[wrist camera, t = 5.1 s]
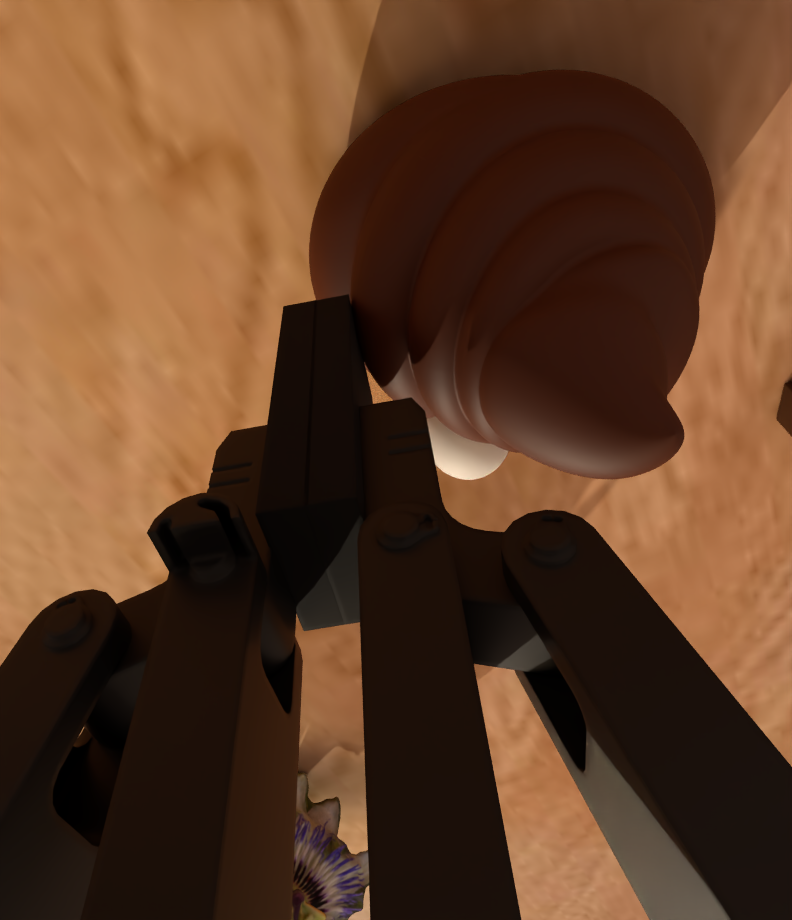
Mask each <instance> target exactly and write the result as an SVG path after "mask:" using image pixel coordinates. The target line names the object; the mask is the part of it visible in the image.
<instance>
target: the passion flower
mask: <svg viewBox="0 0 792 920" xmlns="http://www.w3.org/2000/svg"><path fill="white" fill-rule="evenodd" d="M308 789H309V787H308V779H307V775H306V773H298V780H297V803H296V826H295V849H294V872H293V895H292V918H291V920H348V919H349V917H350V916H351V915H352V914H354V913H355V912H359V911H361V910H362V909H363V899H364V893H365V889H366V887H367V886H369V863H368V850H367V851H363V852H359V853H358V854H356V855H355V854H351V853H350V852H349V850H348V848H347V845H346V844H345V843H344V842H343V841H342V840H340V839H339V838H338V837H337V834H338V828H339V822H340V801H339V799H338V797H335V798H333V799H326V800H324V801H322V802H319V803H313V802H311V801H310V799H309V798H308V796H307V795H308Z"/></svg>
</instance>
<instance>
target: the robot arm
mask: <svg viewBox="0 0 792 920" xmlns="http://www.w3.org/2000/svg"><path fill="white" fill-rule="evenodd" d="M212 470H213V473H211V477H210V482H209V489H208V490H207V493H200V494H196V495H193V496H190V497H186V498H183V499H181V500H180V501H178V502H176V503H174V504H173V505H171V506H169V507H167V508H166V509H165V510H164V511H163V512H162V513H161V514H160V515H159V516H158V517H157V518H155V519H154V521H153V523H152V525H151V526H150V528H149V530H148V532H147V534H148V535H149V537H150V539H151V541H152V542H153V544H154V546H155V548H156V549H157V551H158V553H159V555H160V556H161V558H162V560H163V562H164V563H165V565H166V567H167V569H168V570H169V575H168V579H167V581H165V582H164V583H162V584H160V585H158V586H156V587H154V588H153V589H151V590H148V591H146V592H144V593H141V594H139V595H137V596H134V597H132V598H130V599H127V600H125V601H122V602H120V603H118V604H116V603H115V601H114V600H113V599H112V598H111V597H110V596H109V595H108V594H107V593H106V592H102V591H98V590H94V589H91V590H84V591H77V592H74V593H72V594H69V595H67V596H64V597H62V598H60V599H58V600H56V601H55V602H53V603H52V604H51V605H49V606H48V607H46V608H45V609H44V610H42V611H41V612H40V613H39V614H38V616H37V617H36V618H35V619H34V620H33V621H32V622H31V623H30V624H29V626H28V627H27V629H26V630H25V631H24V633H23V634H22V636H21V637H20V639H19V640H18V642H17V643H16V645H15V646H14V647H13V649H12V650H11V652H10V653H9V655H8V656H7V658H6V659H5V660H4V662H3V663H2V665H1V666H0V920H291V918H292V895H293V872H294V849H295V826H296V803H297V780H298V757H299V734H300V711H301V688H302V665H303V660H302V655H301V649H300V647H299V644H298V642H297V640H296V637H295V626H296V613H297V616H298V618H299V620H300V623H301V625H302V628H303V630H304V631H308V630H314V629H320V628H326V627H332V626H338V625H344V624H351V623H357V622H360V633H361V662H362V690H363V719H364V748H365V777H366V805H367V834H368V863H369V892H370V920H521V915H520V910H519V905H518V899H517V894H516V889H515V883H514V878H513V873H512V867H511V862H510V857H509V851H508V846H507V840H506V835H505V830H504V824H503V819H502V814H501V808H500V803H499V798H498V792H497V787H496V782H495V776H494V771H493V765H492V760H491V755H490V749H489V744H488V739H487V733H486V728H485V723H484V717H483V712H482V707H481V701H480V696H479V690H478V685H477V680H476V674H475V669H474V664H479V665H486V666H493V667H499V668H506V669H513V670H515V673H516V675H517V676H518V678H519V680H520V682H521V684H522V686H523V687H524V689H525V691H526V693H527V695H528V697H529V699H530V700H531V702H532V704H533V706H534V708H535V710H536V711H537V713H538V715H539V717H540V719H541V721H542V722H543V724H544V726H545V728H546V730H547V732H548V733H549V735H550V737H551V739H552V741H553V743H554V745H555V746H556V748H557V750H558V752H559V754H560V756H561V757H562V759H563V761H564V763H565V765H566V767H567V768H568V770H569V772H570V774H571V776H572V778H573V779H574V781H575V783H576V785H577V787H578V789H579V790H580V792H581V794H582V796H583V798H584V800H585V802H586V803H587V805H588V807H589V809H590V811H591V813H592V814H593V816H594V818H595V820H596V822H597V824H598V825H599V827H600V829H601V831H602V833H603V835H604V836H605V838H606V840H607V842H608V844H609V846H610V848H611V849H612V851H613V853H614V855H615V857H616V859H617V860H618V862H619V864H620V866H621V868H622V870H623V871H624V873H625V875H626V877H627V879H628V881H629V882H630V884H631V886H632V888H633V890H634V892H635V894H636V895H637V897H638V899H639V901H640V903H641V905H642V906H643V908H644V910H645V912H646V914H647V916H648V917H649V919H650V920H792V767H791V765H790V764H789V763H788V762H787V761H786V759H785V758H784V757H783V756H782V754H781V753H780V752H779V751H778V750H777V748H776V747H775V746H774V745H773V744H772V742H771V741H770V740H769V739H768V738H767V736H766V735H765V734H764V733H763V731H762V730H761V729H760V728H759V727H758V725H757V724H756V723H755V722H754V721H753V719H752V718H751V717H750V716H749V715H748V713H747V712H746V711H745V710H744V708H743V707H742V706H741V705H740V704H739V702H738V701H737V700H736V699H735V698H734V696H733V695H732V694H731V693H730V692H729V690H728V689H727V688H726V687H725V685H724V684H723V683H722V682H721V681H720V679H719V678H718V677H717V676H716V675H715V673H714V672H713V671H712V670H711V669H710V667H709V666H708V665H707V664H706V662H705V661H704V660H703V659H702V658H701V656H700V655H699V654H698V653H697V652H696V650H695V649H694V648H693V647H692V646H691V644H690V643H689V642H688V641H687V639H686V638H685V637H684V636H683V635H682V633H681V632H680V631H679V630H678V629H677V627H676V626H675V625H674V624H673V623H672V621H671V620H670V619H669V618H668V616H667V615H666V614H665V613H664V612H663V610H662V609H661V608H660V607H659V606H658V604H657V603H656V602H655V601H654V600H653V598H652V597H651V596H650V595H649V593H648V592H647V591H646V590H645V589H644V587H643V586H642V585H641V584H640V583H639V581H638V580H637V579H636V578H635V577H634V575H633V574H632V573H631V572H630V570H629V569H628V568H627V567H626V566H625V564H624V563H623V562H622V561H621V560H620V558H619V557H618V556H617V555H616V554H615V552H614V551H613V550H612V549H611V547H610V546H609V545H608V544H607V543H606V541H605V540H604V539H603V538H602V537H601V535H600V534H599V533H598V532H597V531H596V529H595V528H594V527H593V526H591V525H590V524H589V523H588V522H586V521H585V520H584V519H583V518H581V517H579V516H576V515H573V514H571V513H568V512H565V511H555V510H543V511H538V512H533V513H528V514H526V515H524V516H522V517H521V518H519V519H517V520H515V521H513V522H512V524H511V525H510V526H509V527H508V528H507V530H506V531H505V532H493V531H484V530H479V529H473V528H471V527H468V526H465V525H463V524H461V523H459V522H458V521H456V520H455V519H454V518H452V517H451V516H450V514H449V513H448V512H447V511H446V510H445V507H444V505H443V502H442V498H441V493H440V487H439V482H438V476H437V471H436V466H435V460H434V455H433V450H432V445H431V439H430V434H429V428H428V423H427V418H426V412H425V410H424V409H423V408H422V407H421V406H420V405H419V404H418V403H417V402H416V401H415V400H414V399H413V398H412V397H410V398H404V399H399V400H393V401H388V402H382V403H377V404H373V401H372V395H371V390H370V386H369V381H368V377H367V373H366V368H365V364H364V360H363V357H362V354H361V350H360V346H359V342H358V338H357V333H356V329H355V324H354V318H353V313H352V307H351V302H350V298H349V294H347V295H342V296H336V297H331V298H326V299H320V300H315V301H309V302H304V303H299V304H293V305H288V306H284V307H283V314H282V321H281V329H280V336H279V343H278V351H277V358H276V365H275V373H274V380H273V387H272V395H271V402H270V409H269V417H268V424H267V425H264V426H258V427H253V428H247V429H242V430H236V431H231V432H230V433H229V435H228V436H227V437H226V439H225V440H224V441H223V442H222V444H221V445H220V446H219V448H218V449H217V451H216V455H215V459H214V464H213V468H212ZM83 727H84V729H83ZM82 729H83V731H82ZM81 731H82V733H81ZM80 733H81V734H80ZM79 734H80V736H79ZM78 736H79V737H78Z"/></svg>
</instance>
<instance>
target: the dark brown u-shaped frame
mask: <svg viewBox="0 0 792 920" xmlns="http://www.w3.org/2000/svg"><path fill="white" fill-rule="evenodd" d="M777 421H778V422H779V423H780V424H781V425H782V426H783V427H784V429H785V430H786V431H787V432H788V433H789V434H790V435H791V436H792V382H788V383H785V385H784V389H783V393H782V397H781V402H780V406H779V410H778V414H777Z"/></svg>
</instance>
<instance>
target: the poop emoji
mask: <svg viewBox="0 0 792 920" xmlns="http://www.w3.org/2000/svg"><path fill="white" fill-rule="evenodd" d="M714 233H715V200H714V193H713V187H712V183H711V179H710V176H709V172H708V169H707V167H706V164H705V161H704V159H703V157H702V155H701V153H700V151H699V149H698V147H697V145H696V143H695V142H694V140H693V138H692V137H691V135H690V134H689V132H688V131H687V130H686V128H685V127H684V126H683V125H682V123H681V122H680V121H679V120H678V119H677V118H676V117H675V116H674V115H673V114H672V113H671V112H670V111H669V110H668V109H667V108H666V107H665V106H664V105H662V104H661V103H660V102H659V101H657V100H656V99H654V98H653V97H652V96H650V95H649V94H647V93H645V92H644V91H642V90H640V89H638V88H636V87H634V86H632V85H630V84H628V83H626V82H623V81H621V80H618V79H615V78H612V77H609V76H605V75H601V74H597V73H592V72H586V71H576V70H547V71H538V72H531V73H526V74H521V75H495V76H484V77H477V78H471V79H466V80H461V81H457V82H453V83H449V84H446V85H443V86H440V87H437V88H434V89H431V90H429V91H426V92H424V93H422V94H419V95H417V96H415V97H413V98H411V99H409V100H407V101H405V102H404V103H402V104H400V105H398V106H397V107H395V108H394V109H392V110H390V111H389V112H388V113H386V114H385V115H383V116H382V117H381V118H379V119H378V120H377V121H376V122H374V123H373V124H372V125H371V126H370V127H368V128H367V129H366V130H365V131H364V132H363V133H362V134H361V135H360V136H359V137H358V138H357V139H356V140H355V141H354V142H353V143H352V145H351V146H350V147H349V148H348V149H347V151H346V152H345V153H344V155H343V156H342V157H341V159H340V160H339V161H338V163H337V164H336V166H335V168H334V169H333V171H332V173H331V174H330V176H329V178H328V180H327V182H326V184H325V186H324V188H323V191H322V193H321V195H320V198H319V201H318V204H317V207H316V210H315V214H314V218H313V222H312V228H311V234H310V244H309V264H310V274H311V281H312V286H313V290H314V294H315V297H316V300H320V299H326V298H331V297H336V296H342V295H347V294H349V298H350V302H351V307H352V313H353V318H354V324H355V329H356V333H357V338H358V342H359V346H360V350H361V354H362V357H363V360H364V364H365V368H366V369H367V370H368V371H369V372H370V373H371V375H372V376H373V378H374V379H375V381H376V382H377V383H378V385H379V386H380V387H381V388H382V389H383V391H384V392H385V393H386V394H387V395H388V396H389V397H391V398H392V399H393V400H399V399H404V398H410V397H412V398H413V399H414V400H415V401H416V402H417V403H418V404H419V405H420V406H421V407H422V408H423V409H424V410H425V412H426V418H427V423H428V428H429V434H430V439H431V445H432V450H433V455H434V460H435V465H436V466H437V467H438V468H440V469H441V470H442V471H443V472H445V473H446V474H448V475H450V476H452V477H455V478H459V479H464V480H473V479H479V478H482V477H485V476H487V475H489V474H490V473H492V472H493V471H494V470H496V469H497V468H498V467H499V466H500V465H501V463H502V462H503V461H504V459H505V458H506V456H507V454H508V451H511V452H518V453H522V454H524V455H526V456H528V457H530V458H531V459H533V460H535V461H538V462H540V463H542V464H544V465H547V466H549V467H552V468H555V469H557V470H560V471H563V472H567V473H570V474H574V475H578V476H583V477H588V478H596V479H621V478H628V477H633V476H637V475H640V474H643V473H646V472H649V471H651V470H653V469H655V468H657V467H659V466H661V465H663V464H664V463H666V462H667V461H668V460H670V459H671V458H672V457H673V456H674V455H675V454H676V453H677V452H678V450H679V449H680V447H681V445H682V443H683V440H684V429H683V426H682V424H681V422H680V420H679V418H678V416H677V415H676V413H675V411H674V410H673V408H672V407H671V405H670V404H669V402H668V401H667V395H668V393H669V392H670V391H671V389H672V388H673V386H674V385H675V383H676V382H677V380H678V378H679V377H680V375H681V373H682V371H683V369H684V368H685V366H686V364H687V361H688V359H689V357H690V354H691V351H692V349H693V346H694V343H695V339H696V335H697V330H698V324H699V296H700V293H701V288H702V284H703V277H704V272H705V270H706V267H707V264H708V261H709V258H710V254H711V250H712V246H713V240H714Z"/></svg>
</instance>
